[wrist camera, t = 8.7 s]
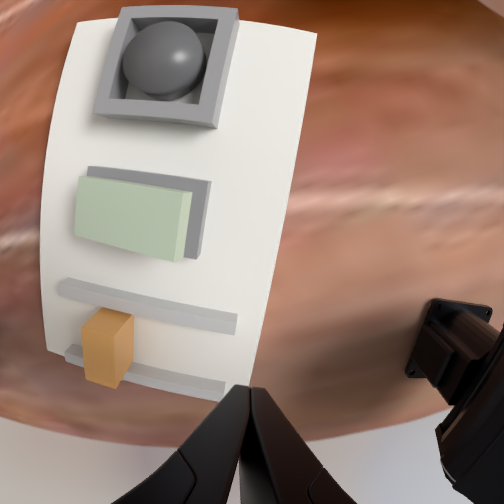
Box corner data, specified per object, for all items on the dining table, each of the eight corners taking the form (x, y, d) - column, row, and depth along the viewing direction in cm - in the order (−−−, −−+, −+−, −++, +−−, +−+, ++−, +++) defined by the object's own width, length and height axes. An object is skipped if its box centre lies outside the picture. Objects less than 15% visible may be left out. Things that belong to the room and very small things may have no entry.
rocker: (192, 192, 14) (183, 192, 13) (183, 257, 15) (173, 262, 14) (91, 176, 15) (78, 176, 14) (86, 232, 16) (73, 234, 15)
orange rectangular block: (134, 312, 18) (113, 336, 15) (133, 360, 19) (115, 389, 16) (104, 304, 18) (81, 327, 15) (105, 353, 19) (85, 379, 16)
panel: (311, 46, 16) (323, 18, 13) (246, 384, 22) (244, 420, 18) (90, 32, 16) (63, 11, 12) (59, 338, 21) (33, 363, 18)
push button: (213, 37, 14) (208, 22, 13) (198, 103, 15) (190, 94, 13) (145, 35, 14) (133, 21, 12) (129, 98, 15) (114, 90, 13)
